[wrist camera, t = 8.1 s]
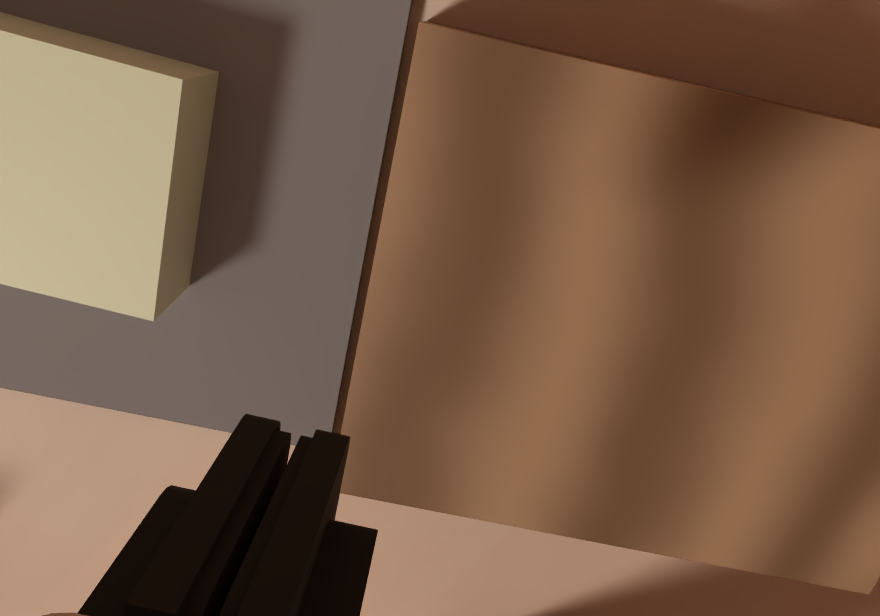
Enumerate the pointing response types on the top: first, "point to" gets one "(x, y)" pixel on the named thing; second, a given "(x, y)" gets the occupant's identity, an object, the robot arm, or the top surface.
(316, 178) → the mat
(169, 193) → the tile
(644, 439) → the riser
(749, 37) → the top surface
